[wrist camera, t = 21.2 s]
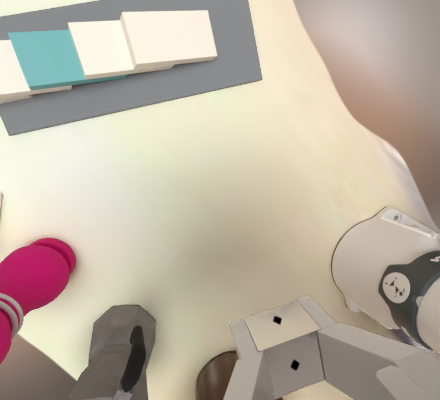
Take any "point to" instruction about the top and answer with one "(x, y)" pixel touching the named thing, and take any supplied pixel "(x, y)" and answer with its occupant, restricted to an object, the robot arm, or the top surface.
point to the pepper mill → (31, 283)
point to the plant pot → (216, 377)
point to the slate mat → (138, 82)
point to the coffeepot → (118, 356)
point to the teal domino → (50, 59)
